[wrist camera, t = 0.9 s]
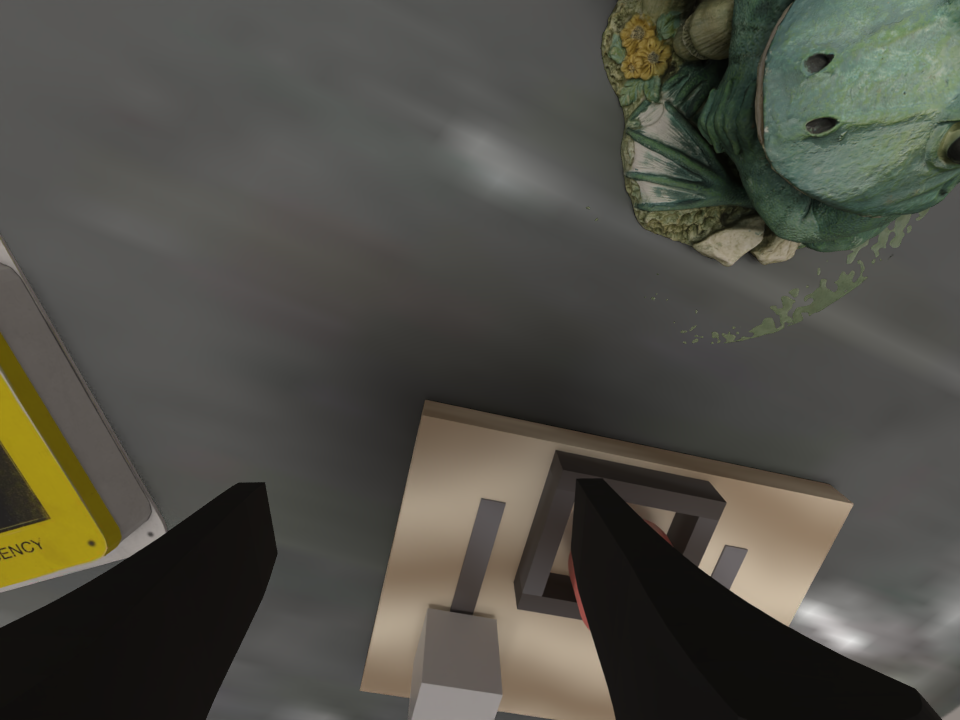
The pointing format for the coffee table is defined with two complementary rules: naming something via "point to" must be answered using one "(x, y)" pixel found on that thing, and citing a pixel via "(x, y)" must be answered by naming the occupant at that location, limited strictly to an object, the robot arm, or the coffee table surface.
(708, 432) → the coffee table surface
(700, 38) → the frog figurine
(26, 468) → the emergency button
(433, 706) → the grey slider
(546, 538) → the control panel
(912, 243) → the coffee table surface
